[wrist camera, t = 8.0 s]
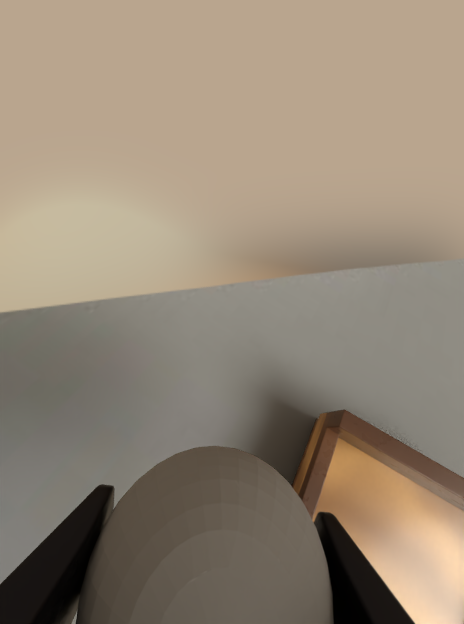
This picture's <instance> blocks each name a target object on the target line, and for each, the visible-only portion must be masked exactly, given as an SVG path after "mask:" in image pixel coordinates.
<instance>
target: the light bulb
mask: <svg viewBox="0 0 464 624" xmlns="http://www.w3.org/2000/svg"><path fill="white" fill-rule="evenodd" d="M76 624H334V619H333V593H332V587H331V582H330V576H329V570H328V565H327V560H326V557H325V553H324V550H323V547H322V544H321V541H320V538H319V535H318V532H317V529H316V527H315V525H314V523H313V521H312V519H311V517H310V515H309V513H308V511H307V509H306V507H305V505H304V503H303V502H302V500H301V499H300V497H299V496H298V495H297V493H296V492H295V490H294V489H293V488H292V486H291V485H290V484H289V482H288V481H287V480H286V479H285V478H284V477H283V476H281V475H280V474H279V473H278V472H277V471H276V470H275V469H274V468H273V467H272V466H270V465H269V464H267V463H266V462H264V461H262V460H261V459H259V458H258V457H256V456H254V455H251V454H249V453H246V452H243V451H240V450H238V449H234V448H227V447H219V446H209V447H198V448H193V449H190V450H187V451H183V452H180V453H177V454H175V455H173V456H171V457H170V458H168V459H166V460H164V461H162V462H160V463H159V464H157V465H156V466H154V467H153V468H152V469H151V470H149V471H148V472H147V473H146V474H145V475H143V476H142V477H141V478H140V479H138V480H137V481H136V482H135V483H134V485H133V486H132V487H131V488H130V489H129V490H128V491H127V493H126V494H125V495H124V496H123V497H122V498H121V499H120V501H119V502H118V503H117V505H116V507H115V508H114V510H113V511H112V513H111V515H110V516H109V518H108V519H107V521H106V523H105V524H104V526H103V528H102V530H101V532H100V535H99V537H98V539H97V542H96V544H95V546H94V549H93V551H92V554H91V556H90V559H89V562H88V566H87V570H86V573H85V577H84V581H83V584H82V588H81V592H80V595H79V603H78V611H77V619H76Z"/></svg>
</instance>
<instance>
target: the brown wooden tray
mask: <svg viewBox="0 0 464 624" xmlns="http://www.w3.org/2000/svg"><path fill="white" fill-rule="evenodd" d="M292 488H293V489H294V490H295V492H296V493H297V495H298V496H299V497H300V499H301V500H302V502H303V503H304V505H305V507H306V509H307V511H308V513H309V515H310V517H311V519H312V521H313V523H314V521H315V518H316V516H317V514H318V512H320V511H322V512H330V513H332V514H333V515H335V517H336V518H337V519H338V521H339V522H340V523H341V525H342V526H343V527H344V529H345V530H346V531H347V533H348V534H349V535H350V537H351V538H352V539H353V541H354V542H355V543H356V545H357V546H358V547H359V549H360V550H361V551H362V553H363V554H364V555H365V557H366V558H367V559H368V561H369V562H370V564H371V565H372V566H373V568H374V569H375V570H376V572H377V573H378V574H379V576H380V577H381V578H382V580H383V581H384V582H385V584H386V585H387V586H388V588H389V589H390V590H391V592H392V593H393V594H394V596H395V597H396V598H397V600H398V601H399V602H400V604H401V605H402V606H403V608H404V609H405V610H406V612H407V613H408V614H409V616H410V617H411V618H412V620H413V621H414V622H415V624H464V478H463V477H461V476H459V475H457V474H456V473H454V472H452V471H450V470H449V469H447V468H445V467H443V466H442V465H440V464H438V463H437V462H435V461H433V460H431V459H430V458H428V457H426V456H424V455H423V454H421V453H419V452H417V451H416V450H414V449H412V448H410V447H409V446H407V445H405V444H404V443H402V442H400V441H398V440H397V439H395V438H393V437H391V436H390V435H388V434H386V433H384V432H383V431H381V430H379V429H377V428H376V427H374V426H372V425H371V424H369V423H367V422H365V421H364V420H362V419H360V418H358V417H357V416H355V415H353V414H351V413H350V412H348V411H346V410H340V411H334V412H328V413H322V414H320V416H319V418H318V419H316V421H315V424H314V427H313V430H312V432H311V435H310V438H309V440H308V443H307V446H306V449H305V451H304V454H303V457H302V460H301V462H300V465H299V468H298V470H297V473H296V476H295V479H294V481H293V484H292Z"/></svg>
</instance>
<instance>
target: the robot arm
mask: <svg viewBox="0 0 464 624" xmlns="http://www.w3.org/2000/svg"><path fill="white" fill-rule="evenodd" d="M113 506H114V486H111V485H103V484H101V485H99V486H98V487H96V488H95V489H94V490H93V491H92V492H91V493H90V494H89V495H88V496H87V497H86V499H85V500H84V501H83V502H82V503H81V504H80V505H79V506H78V507H77V508H76V509H75V510H74V511H73V512H72V513H71V514H70V515H69V516H68V517H67V518H66V519H65V520H64V521H63V522H62V523H61V524H60V525H59V526H58V527H57V528H56V529H55V530H54V531H53V532H52V533H51V534H50V535H49V536H48V537H47V538H46V539H45V540H44V541H43V542H42V543H41V544H40V545H39V546H38V547H37V548H36V549H35V550H34V551H33V552H32V553H31V554H30V555H29V556H28V557H27V558H26V559H25V560H24V561H23V562H22V563H21V564H20V565H19V566H18V567H17V568H16V569H15V570H14V571H13V572H12V573H11V574H10V575H9V576H8V577H7V578H6V579H5V580H4V581H3V582H2V583H1V584H0V624H71V623H72V621H73V619H74V616H75V614H76V612H77V609H78V603H79V595H80V592H81V588H82V584H83V581H84V577H85V573H86V570H87V566H88V562H89V559H90V556H91V554H92V551H93V549H94V546H95V544H96V542H97V539H98V537H99V535H100V532H101V530H102V528H103V526H104V524H105V523H106V521H107V519H108V518H109V516H110V515H111V513H112V511H113ZM314 525H315V527H316V529H317V532H318V535H319V538H320V541H321V544H322V547H323V550H324V553H325V557H326V560H327V565H328V570H329V576H330V582H331V587H332V593H333V619H334V624H415V622H414V621H413V620H412V618H411V617H410V616H409V614H408V613H407V612H406V610H405V609H404V608H403V606H402V605H401V604H400V602H399V601H398V600H397V598H396V597H395V596H394V594H393V593H392V592H391V590H390V589H389V588H388V586H387V585H386V584H385V582H384V581H383V580H382V578H381V577H380V576H379V574H378V573H377V572H376V570H375V569H374V568H373V566H372V565H371V564H370V562H369V561H368V559H367V558H366V557H365V555H364V554H363V553H362V551H361V550H360V549H359V547H358V546H357V545H356V543H355V542H354V541H353V539H352V538H351V537H350V535H349V534H348V533H347V531H346V530H345V529H344V527H343V526H342V525H341V523H340V522H339V521H338V519H337V518H336V517H335V515H333V514H332V513H330V512H322V511H320V512H318V514H317V516H316V518H315V521H314Z"/></svg>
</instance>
